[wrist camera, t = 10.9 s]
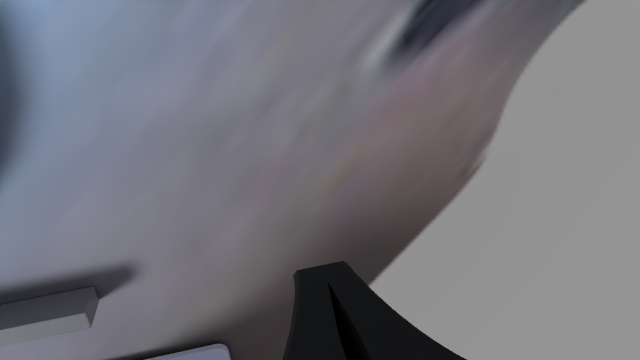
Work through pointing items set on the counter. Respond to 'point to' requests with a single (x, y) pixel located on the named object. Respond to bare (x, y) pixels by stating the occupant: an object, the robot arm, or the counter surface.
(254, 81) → the counter surface
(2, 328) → the tray frame
